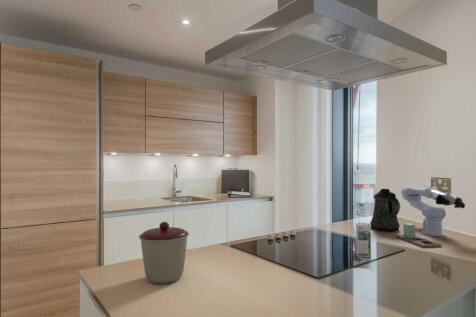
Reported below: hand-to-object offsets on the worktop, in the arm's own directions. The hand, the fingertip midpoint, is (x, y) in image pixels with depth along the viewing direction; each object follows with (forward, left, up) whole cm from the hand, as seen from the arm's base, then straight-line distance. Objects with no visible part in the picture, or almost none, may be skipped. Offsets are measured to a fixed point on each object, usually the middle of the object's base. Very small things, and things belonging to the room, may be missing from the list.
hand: (456, 204), depth 162 cm
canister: (+25, -143, -20) cm, 147 cm away
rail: (-7, -16, -20) cm, 27 cm away
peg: (-14, -16, -20) cm, 29 cm away
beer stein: (-36, -15, -20) cm, 44 cm away
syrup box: (+10, -56, -20) cm, 61 cm away
